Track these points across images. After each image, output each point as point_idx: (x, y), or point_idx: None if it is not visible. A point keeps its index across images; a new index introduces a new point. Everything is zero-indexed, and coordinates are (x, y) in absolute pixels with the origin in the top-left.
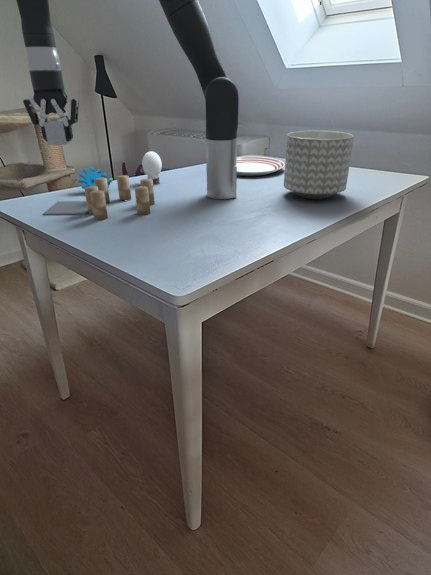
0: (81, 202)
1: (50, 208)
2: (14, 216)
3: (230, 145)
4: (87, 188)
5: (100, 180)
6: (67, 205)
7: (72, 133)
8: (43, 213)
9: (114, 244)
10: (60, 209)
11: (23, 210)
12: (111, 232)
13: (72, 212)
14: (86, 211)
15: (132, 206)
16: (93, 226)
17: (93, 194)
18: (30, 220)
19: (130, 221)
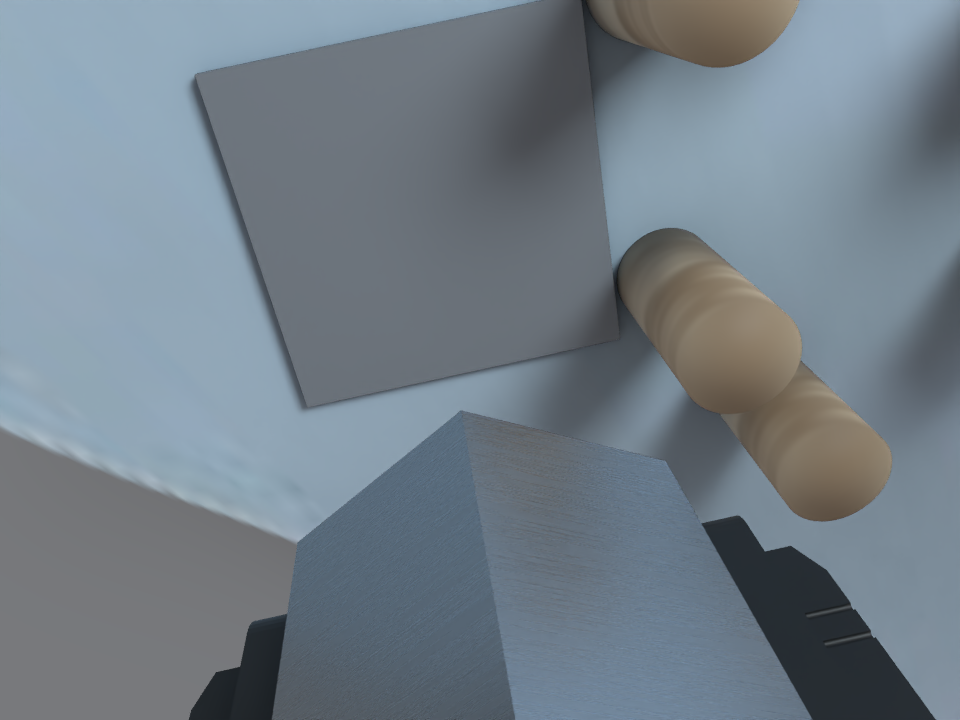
0: (449, 69)
1: (279, 288)
2: (121, 463)
3: None
4: (719, 393)
5: (749, 59)
6: (371, 184)
7: (859, 625)
8: (311, 403)
9: (907, 661)
10: (380, 297)
11: (64, 337)
12: (866, 556)
13: (515, 344)
14: (609, 303)
15: (927, 67)
16: (746, 507)
17: (818, 518)
18: (300, 503)
19: (947, 393)
